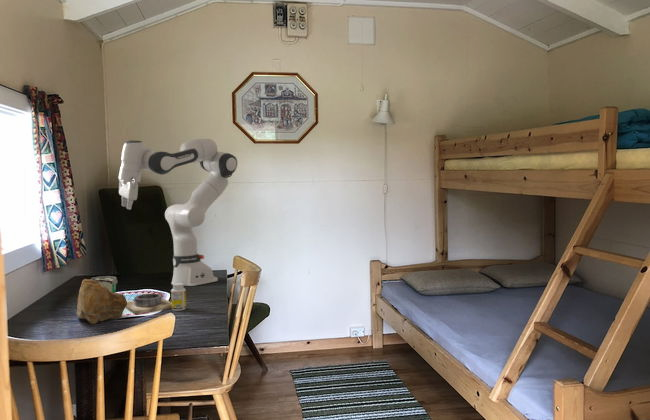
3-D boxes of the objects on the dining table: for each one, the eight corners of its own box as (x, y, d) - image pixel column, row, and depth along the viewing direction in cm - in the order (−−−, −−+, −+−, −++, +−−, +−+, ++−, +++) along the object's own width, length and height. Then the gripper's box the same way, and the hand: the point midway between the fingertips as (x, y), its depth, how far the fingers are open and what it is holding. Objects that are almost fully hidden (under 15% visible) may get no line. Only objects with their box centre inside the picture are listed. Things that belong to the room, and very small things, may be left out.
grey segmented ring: (156, 299, 212) (156, 292, 212) (165, 304, 204) (165, 296, 204) (131, 303, 206) (131, 296, 205) (139, 308, 197) (139, 300, 197)
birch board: (161, 299, 216) (161, 297, 216) (175, 307, 203) (175, 304, 203) (122, 306, 206) (122, 303, 206) (134, 314, 194) (134, 311, 194)
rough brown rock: (130, 325, 182) (132, 283, 182) (79, 328, 174) (82, 285, 174) (121, 312, 202) (123, 275, 202) (75, 315, 194) (77, 276, 194)
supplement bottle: (180, 306, 204) (180, 281, 203) (189, 309, 201) (188, 283, 200) (168, 309, 200) (168, 284, 199) (176, 312, 196) (176, 286, 196)
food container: (124, 299, 217) (123, 276, 216) (114, 303, 211) (113, 279, 210) (101, 297, 221) (100, 275, 220) (91, 301, 215) (90, 278, 215)
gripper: (143, 179, 215) (139, 211, 216) (132, 175, 232) (128, 205, 233) (127, 177, 212) (123, 210, 213) (117, 174, 229) (114, 204, 229)
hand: (126, 207), depth 223 cm, fingers open, 8 cm apart
